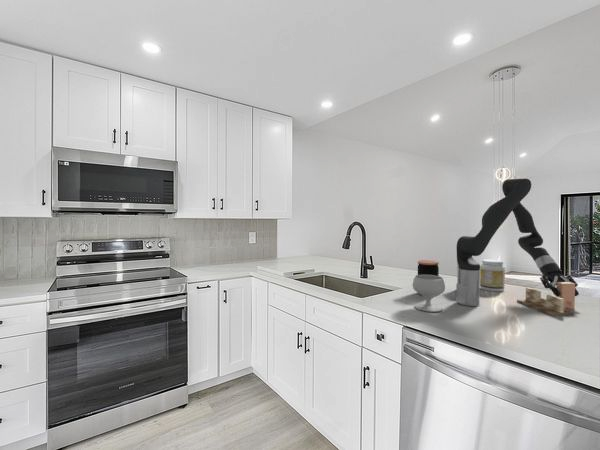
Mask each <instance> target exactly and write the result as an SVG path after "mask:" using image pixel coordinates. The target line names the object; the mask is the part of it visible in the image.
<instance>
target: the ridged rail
mask: <svg viewBox="0 0 600 450" xmlns="http://www.w3.org/2000/svg"><path fill="white" fill-rule="evenodd" d="M541 293H542V292H541V291H539V290H537V289H533V288H531V287H525V299H516V302H517V303H518V304H521V305H522V306H526V307H528V308H531V309H534V310H535V311H537V312H541V313H543V314H546V315H549V316H574V312H573V311H570V310H567V309H566V308H565V309H564V299H562V298H559V297H556V295H554V294H549V293H548V294H546V297H545V298H543V297H541V296H542V295H541Z"/></svg>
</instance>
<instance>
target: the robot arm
mask: <svg viewBox="0 0 600 450" xmlns="http://www.w3.org/2000/svg"><path fill="white" fill-rule="evenodd" d="M501 185H502V187H501V189H502V192H503V193H502V194H503V195H504V197H503V198H501V199H499V200H497V201H496V202H494V203H493V204H491V205H490V206H489V207H488V208H487V209H486V210H485V212H484V214H483V215H482V217H481V229H480V230H479V232H478V233H476V235H475V236H468V235H463V236H461V237H459V238H458V239H457V243H456V263H458V265H459V274H458V283H456V285H455V286H456V291H455V294H456V295H455V298H456V299H455V301H456V303H457V304H460V305H463V306H467V307H478V306H480V293H481V292H480V289H481V287H480V266H481V265H480V263H479V262H477V261H476V260H475V259H474V258H473V257H478V256H480V255H482V254H483V253H484V252H485V250H486V248H487V246H488V245H489V243H490V242H491V240H492V238H493V237H494V235H495V234H496V232H497V231H498V230H499V228H500V227H502V225H503V224H504V222H505V221H506V220H507V219H508V217H509V216H510V214H511V213H513V214H514V217H515V221H516V224H517V227H518V230H519V232H520V233H522V234H528V235H523V236H520V237H519V238H518V241H517V243H518V246H519V247H520V248H521V249H522V250H524V251H525V252H526V253H527V254H528V255H529V256H530V257H531V258H532V259H533V261H534V263H535V265H536V267H537V268H538V269H539V271H540V273H541V275H542V276H541V277H539V280H540V281H541V284H542V285H543V286H544V288H545V289H549V290H551V292H552V293H553V296H559V295H560V292H559V291H558V289H557V282H571V283H575V297H578V296H579V294H580V293H579V291H578V290H577V287H578V286H579V283H577V282H576V281H575V279H574V278H573V277H572V275H570V274H568V275H564V274H563V271H562V269H561V268H560V266H559V265H558V264H557V262H556V261H555V259H554V258H553V257H552V255H550V253H549V252H548V250H547V249H546V248H544V247H540V246H542V245H543V243H544V239H543V237H542V236H541V234H540V233H539V232H538V230H537V227H536V225H535V222H534V219H533V216H532V214H531V212H530V211H529V210H528V209H527V208H526V207H525V206H524V205H523V204H522V202H521V201H522V200H523V199H525V198H526V197H527V195H528V194H529V193H530V191H531V190H532V182H531V180H530V179H529V178H527V177H518V178H517V177H515V178H509V179H508V178H507V179H506V180H504V181H503V183H502V184H501Z"/></svg>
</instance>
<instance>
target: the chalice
mask: <svg viewBox="0 0 600 450" xmlns="http://www.w3.org/2000/svg"><path fill="white" fill-rule="evenodd" d="M412 289H413V290H414V291H415V292H416V293H418V294H419V295H420V294H421V296H422V297H423V298H424V299H425V303H417V304H415V305H414V308H415V309H416V310H419V311H422V312H428V313H429V312H430V313H439V312H441V311H442V312H443V308H442V307H441V306H439V305H437V304H432V303H431V302H432V301H431V300H432V299H433V298H434V297H437V296H440V295H441V294H443V293H444V292H445V290H446V285H445V281H444V278H443V276H440V275H439V276H436V275H425V274H422V275H418V274H416V275H415V276H414V278H413V281H412Z"/></svg>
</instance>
